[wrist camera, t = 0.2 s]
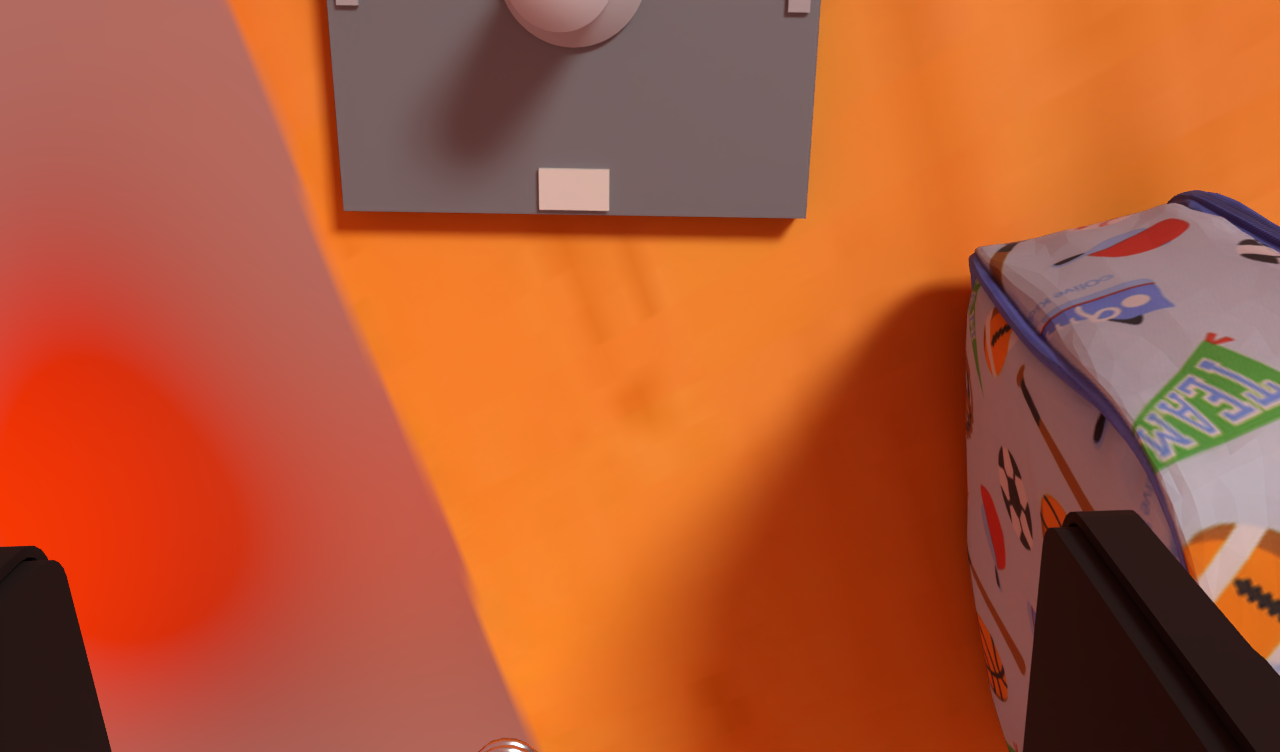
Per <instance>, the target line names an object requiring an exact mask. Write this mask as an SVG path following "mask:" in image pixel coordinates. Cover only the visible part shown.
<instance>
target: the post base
mask: <svg viewBox="0 0 1280 752" xmlns="http://www.w3.org/2000/svg"><path fill="white" fill-rule="evenodd" d="M820 3H821V0H327V10H328V23H329V35H330V47H331V60H332V72H333V84H334V97H335V109H336V121H337V134H338V146H339V158H340V171H341V183H342V195H343V207H344V211H383V212H444V213H504V214H565V215H626V216H686V217H747V218H806V208H807V193H808V178H809V164H810V149H811V135H812V120H813V106H814V91H815V76H816V62H817V47H818V33H819V18H820Z"/></svg>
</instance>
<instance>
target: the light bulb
mask: <svg viewBox="0 0 1280 752" xmlns="http://www.w3.org/2000/svg"><path fill="white" fill-rule="evenodd" d="M479 752H537V751H536V750H535V749H533V748H532V747H531V746H530V745H529V744H527V743H525V742H523V741H520V740H518V739H513V738H501V739H498V740H494V741H491V742H490V743H488V744H487V745H486V746H484V747H483V748H482V749H481V750H480V751H479Z"/></svg>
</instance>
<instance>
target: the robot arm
mask: <svg viewBox="0 0 1280 752" xmlns="http://www.w3.org/2000/svg"><path fill="white" fill-rule="evenodd" d="M0 752H111V748H110V744H109V740H108V736H107V732H106V728H105V724H104V720H103V717H102V713H101V709H100V705H99V701H98V697H97V693H96V689H95V685H94V682H93V678H92V674H91V670H90V666H89V662H88V658H87V654H86V650H85V646H84V642H83V639H82V635H81V631H80V627H79V623H78V619H77V616H76V612H75V607H74V604H73V600H72V596H71V592H70V588H69V584H68V580H67V576H66V574H65V571H64V568H63V567H62V566H61V564H60V563H59V562H57V561H55V560H48V559H47V556H46V555H45V554H44V552H43V551H42V550H41V549H39V548H37V547H35V546H15V547H0ZM1023 752H1280V675H1279V674H1278V673H1277V672H1276V671H1275V670H1274V668H1273V667H1272V666H1271V665H1270V664H1269V663H1268V661H1267V660H1266V659H1265V658H1264V657H1262V656H1261V655H1260V654H1259V653H1258V652H1257V651H1255V650H1254V649H1253V648H1252V647H1251V646H1250V644H1249V643H1248V642H1247V641H1246V640H1245V638H1244V637H1243V636H1242V635H1241V634H1240V633H1239V631H1238V630H1237V629H1236V628H1235V627H1234V626H1233V624H1232V623H1231V622H1230V621H1229V620H1228V619H1227V617H1226V616H1225V615H1224V614H1223V613H1222V612H1221V610H1220V609H1219V608H1218V607H1217V606H1216V604H1215V603H1214V602H1213V601H1212V600H1211V599H1210V597H1209V596H1208V595H1207V594H1206V593H1205V592H1204V590H1203V589H1202V588H1201V587H1200V586H1199V585H1198V583H1197V582H1196V581H1195V580H1194V579H1193V578H1192V576H1191V575H1190V574H1189V573H1188V572H1187V571H1186V569H1185V568H1184V567H1183V566H1182V565H1181V563H1180V562H1179V561H1178V560H1177V559H1176V558H1175V556H1174V555H1173V554H1172V553H1171V552H1170V551H1169V549H1168V548H1167V547H1166V546H1165V545H1164V544H1163V542H1162V541H1161V540H1160V539H1159V538H1158V537H1157V535H1156V534H1155V533H1154V532H1153V531H1152V529H1151V528H1150V527H1149V526H1148V525H1147V524H1146V522H1145V521H1144V520H1143V519H1142V518H1141V517H1140V515H1139V514H1137V513H1136V512H1135V511H1134V510H1105V511H1075V512H1069V513H1068V514H1067V515H1066V516H1065V519H1064V521H1063V524H1062V527H1052V528H1048V529H1047V530H1046V532H1045V535H1044V539H1043V545H1042V555H1041V565H1040V576H1039V586H1038V597H1037V607H1036V618H1035V628H1034V638H1033V649H1032V659H1031V670H1030V680H1029V690H1028V701H1027V711H1026V722H1025V732H1024V743H1023Z"/></svg>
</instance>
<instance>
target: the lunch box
mask: <svg viewBox="0 0 1280 752" xmlns="http://www.w3.org/2000/svg"><path fill="white" fill-rule="evenodd" d="M969 268H970V273H971V284H972V293H971V296H970V301H969V306H968V312H967V331H966V355H965V369H966V450H967V482H968V516H967V549H968V557H969V565H970V572H971V579H972V586H973V593H974V599H975V606H976V612H977V618H978V624H979V629H980V635H981V640H982V646H983V652H984V657H985V663H986V668H987V674H988V679H989V684H990V689H991V693H992V698H993V702H994V705H995V708H996V712H997V715H998V718H999V721H1000V725H1001V728H1002V731H1003V734H1004V737H1005V740H1006V743H1007V746H1008V749H1009V752H1023V743H1024V732H1025V722H1026V711H1027V701H1028V690H1029V680H1030V670H1031V659H1032V649H1033V638H1034V628H1035V618H1036V607H1037V597H1038V586H1039V576H1040V565H1041V555H1042V545H1043V539H1044V535H1045V532H1046V530H1047V529H1048V528H1052V527H1062V524H1063V521H1064V519H1065V516H1066V515H1067V514H1068V513H1069V512H1075V511H1105V510H1134V511H1135V512H1136V513H1137V514H1139V515H1140V517H1141V518H1142V519H1143V520H1144V521H1145V522H1146V524H1147V525H1148V526H1149V527H1150V528H1151V529H1152V531H1153V532H1154V533H1155V534H1156V535H1157V537H1158V538H1159V539H1160V540H1161V541H1162V542H1163V544H1164V545H1165V546H1166V547H1167V548H1168V549H1169V551H1170V552H1171V553H1172V554H1173V555H1174V556H1175V558H1176V559H1177V560H1178V561H1179V562H1180V563H1181V565H1182V566H1183V567H1184V568H1185V569H1186V571H1187V572H1188V573H1189V574H1190V575H1191V576H1192V578H1193V579H1194V580H1195V581H1196V582H1197V583H1198V585H1199V586H1200V587H1201V588H1202V589H1203V590H1204V592H1205V593H1206V594H1207V595H1208V596H1209V597H1210V599H1211V600H1212V601H1213V602H1214V603H1215V604H1216V606H1217V607H1218V608H1219V609H1220V610H1221V612H1222V613H1223V614H1224V615H1225V616H1226V617H1227V619H1228V620H1229V621H1230V622H1231V623H1232V624H1233V626H1234V627H1235V628H1236V629H1237V630H1238V631H1239V633H1240V634H1241V635H1242V636H1243V637H1244V638H1245V640H1246V641H1247V642H1248V643H1249V644H1250V646H1251V647H1252V648H1253V649H1254V650H1255V651H1257V652H1258V653H1259V654H1260V655H1261V656H1262V657H1264V658H1265V659H1266V660H1267V661H1268V663H1269V664H1270V665H1271V666H1272V667H1273V668H1274V670H1275V671H1276V672H1277V673H1278V674H1279V675H1280V227H1279V226H1277V225H1276V224H1274V223H1272V222H1270V221H1269V220H1267V219H1266V218H1264V217H1263V216H1261V215H1260V214H1258V213H1256V212H1255V211H1253V210H1252V209H1250V208H1248V207H1247V206H1245V205H1243V204H1242V203H1240V202H1238V201H1236V200H1234V199H1231V198H1229V197H1226V196H1223V195H1221V194H1218V193H1212V192H1204V191H1200V190H1193V191H1188V192H1184V193H1180V194H1178V195H1176V196H1174V197H1173V198H1172V199H1171V200H1170V201H1168V203H1167V204H1164V205H1160V206H1157V207H1154V208H1151V209H1149V210H1146V211H1142V212H1139V213H1135V214H1131V215H1127V216H1123V217H1120V218H1116V219H1112V220H1108V221H1104V222H1101V223H1097V224H1093V225H1089V226H1084V227H1079V228H1074V229H1070V230H1065V231H1060V232H1056V233H1053V234H1049V235H1046V236H1042V237H1038V238H1034V239H1029V240H1024V241H1018V242H1011V243H1005V244H997V245H989V246H983V247H978V248H977V249H976V250H975V253H974V254H972V255H971V256H970V257H969Z"/></svg>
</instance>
